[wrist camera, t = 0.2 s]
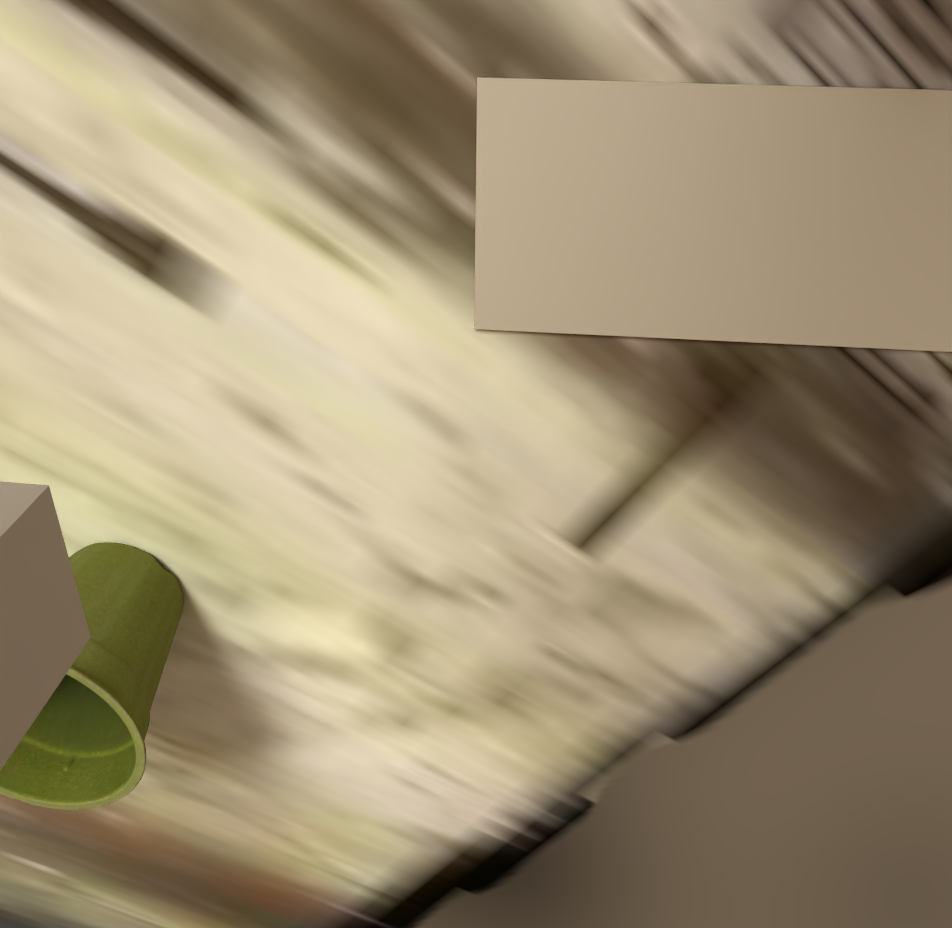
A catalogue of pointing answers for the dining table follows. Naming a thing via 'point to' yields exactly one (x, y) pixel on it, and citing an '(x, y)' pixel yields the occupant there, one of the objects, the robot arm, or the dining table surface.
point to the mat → (715, 212)
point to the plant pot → (101, 686)
